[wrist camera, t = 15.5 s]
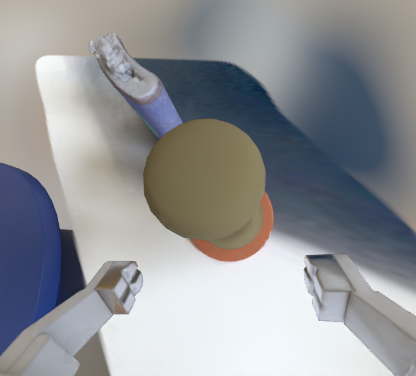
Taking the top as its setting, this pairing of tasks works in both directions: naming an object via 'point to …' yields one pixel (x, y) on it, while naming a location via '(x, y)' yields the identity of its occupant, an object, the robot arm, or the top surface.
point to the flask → (136, 85)
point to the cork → (207, 183)
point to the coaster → (249, 248)
